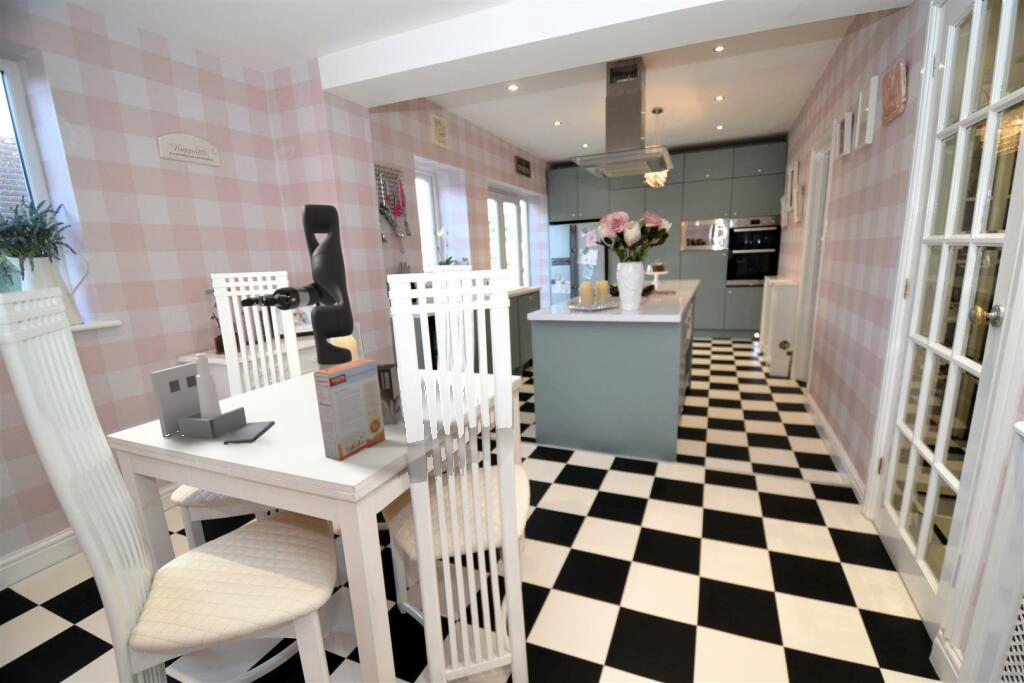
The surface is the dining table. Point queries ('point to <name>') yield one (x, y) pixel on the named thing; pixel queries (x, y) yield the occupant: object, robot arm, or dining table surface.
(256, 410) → the dining table surface
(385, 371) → the coffee box
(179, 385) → the outlet dock
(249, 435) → the phone
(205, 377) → the cosmetic bottle
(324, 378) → the cracker box
